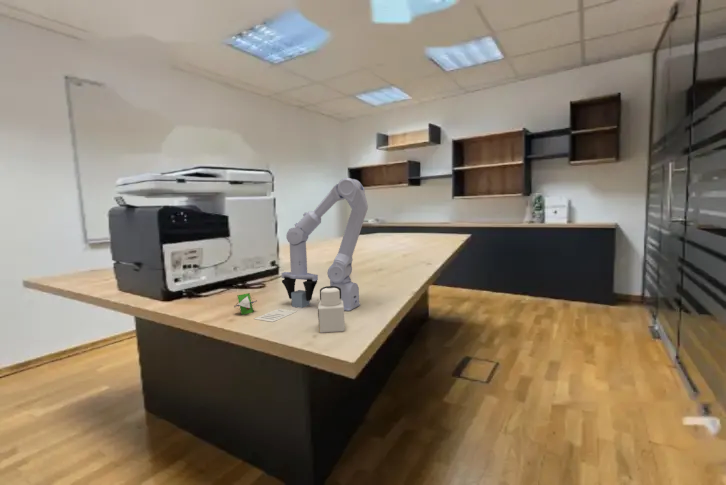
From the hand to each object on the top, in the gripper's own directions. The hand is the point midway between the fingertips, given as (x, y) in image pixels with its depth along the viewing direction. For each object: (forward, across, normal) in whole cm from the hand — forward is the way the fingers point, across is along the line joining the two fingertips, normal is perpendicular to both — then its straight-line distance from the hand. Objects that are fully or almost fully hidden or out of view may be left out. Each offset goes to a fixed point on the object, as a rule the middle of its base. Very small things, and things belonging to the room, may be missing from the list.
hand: (300, 299), depth 130 cm
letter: (+2, 0, -12) cm, 13 cm away
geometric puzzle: (+2, -12, -14) cm, 19 cm away
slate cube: (+2, 0, 0) cm, 2 cm away
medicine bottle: (+2, +24, -16) cm, 29 cm away
